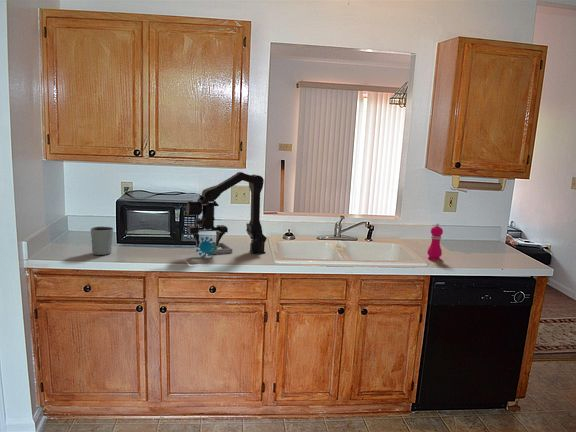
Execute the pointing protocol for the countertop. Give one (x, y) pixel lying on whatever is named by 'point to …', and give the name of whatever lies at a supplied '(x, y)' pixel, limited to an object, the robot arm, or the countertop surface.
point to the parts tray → (221, 251)
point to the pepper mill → (435, 243)
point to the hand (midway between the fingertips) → (207, 246)
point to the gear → (206, 247)
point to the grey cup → (101, 240)
